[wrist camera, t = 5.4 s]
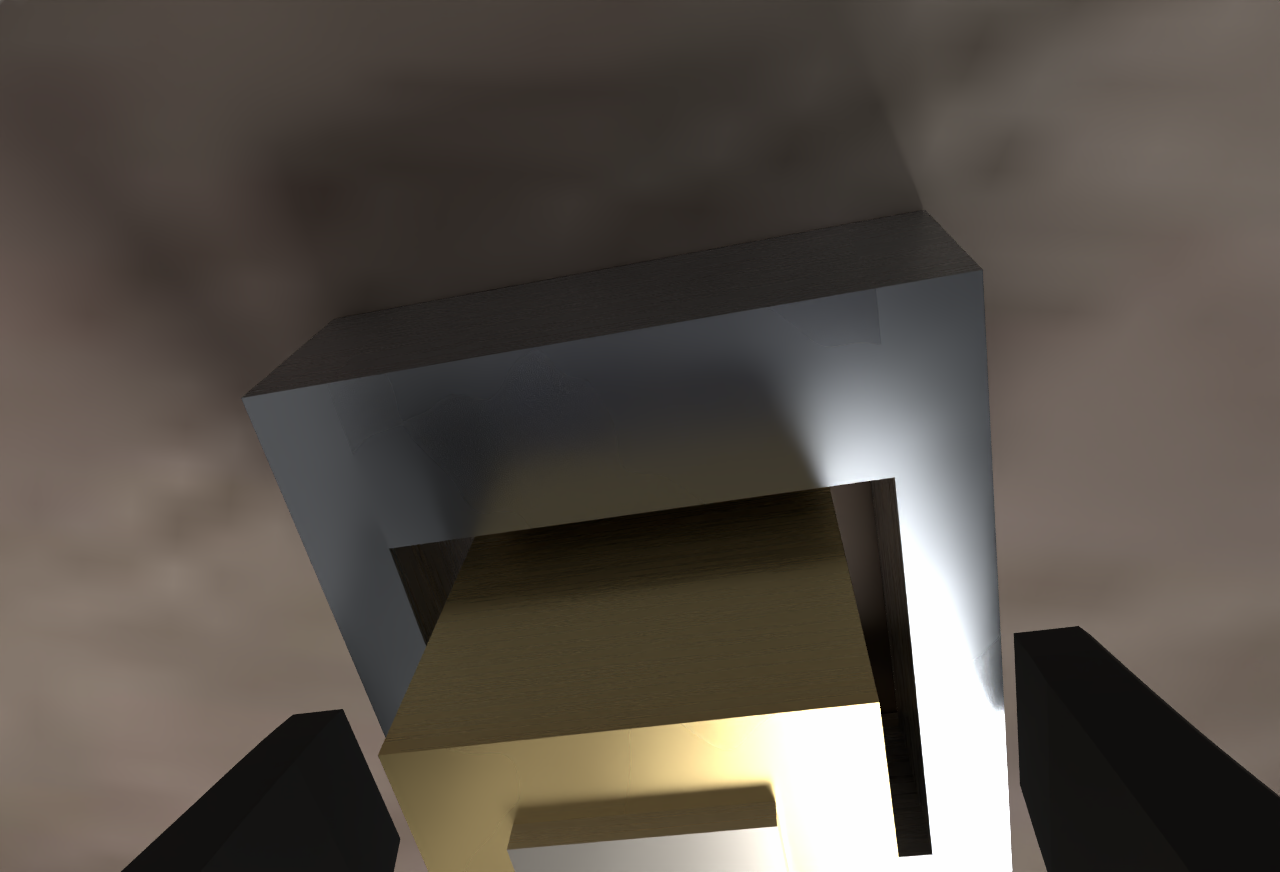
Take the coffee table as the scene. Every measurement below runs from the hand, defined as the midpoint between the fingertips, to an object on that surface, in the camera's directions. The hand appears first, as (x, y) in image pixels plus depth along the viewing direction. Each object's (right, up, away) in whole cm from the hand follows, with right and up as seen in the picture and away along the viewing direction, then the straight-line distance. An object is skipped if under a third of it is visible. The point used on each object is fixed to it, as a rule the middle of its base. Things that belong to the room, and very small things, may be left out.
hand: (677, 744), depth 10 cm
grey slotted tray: (+1, -2, +4) cm, 5 cm away
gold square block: (0, +1, +3) cm, 3 cm away
